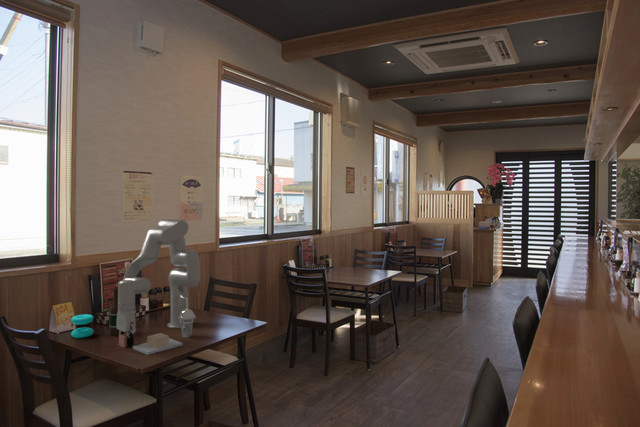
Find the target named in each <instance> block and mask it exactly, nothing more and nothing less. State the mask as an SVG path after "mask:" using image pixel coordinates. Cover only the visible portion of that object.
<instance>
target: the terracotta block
mask: <svg viewBox="0 0 640 427" xmlns="http://www.w3.org/2000/svg"><path fill="white" fill-rule="evenodd" d="M130 333H131V332H129V334H130ZM127 338H128V336H127V332H126V333H125V334H121V335H119V336H118V346H120V347H121V348H127V347H129V346H127ZM131 346H132V347H133V345H131ZM131 346H130V347H131Z"/></svg>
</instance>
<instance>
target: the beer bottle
mask: <svg viewBox="0 0 640 427" xmlns="http://www.w3.org/2000/svg"><path fill="white" fill-rule="evenodd" d="M112 290H113V300H112V303H111V306H110V308H109V310H108V333H109V335H110V336H112V337H114V336H115V337H119V330H118V329H117V328H116V323H117V312H118V286H116V287H114V288H112Z"/></svg>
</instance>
